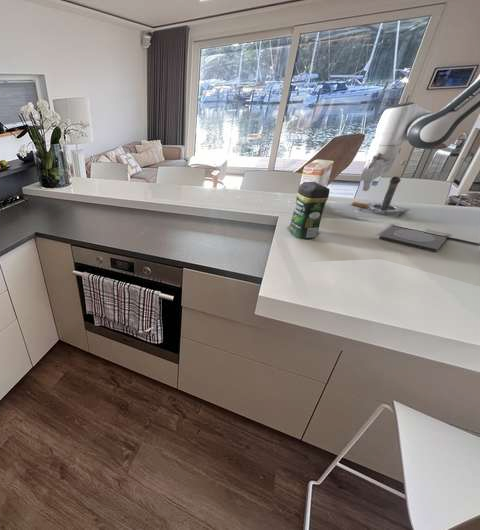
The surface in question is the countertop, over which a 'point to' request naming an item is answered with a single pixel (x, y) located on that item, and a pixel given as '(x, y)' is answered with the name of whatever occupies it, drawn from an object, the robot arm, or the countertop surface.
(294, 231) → the coffee jar
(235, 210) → the countertop surface
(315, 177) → the coffeecake box
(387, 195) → the post
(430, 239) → the hob plate
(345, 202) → the countertop surface
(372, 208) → the steel loop
